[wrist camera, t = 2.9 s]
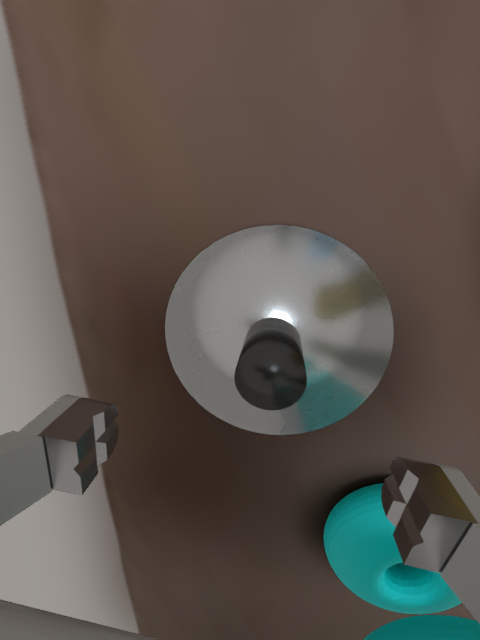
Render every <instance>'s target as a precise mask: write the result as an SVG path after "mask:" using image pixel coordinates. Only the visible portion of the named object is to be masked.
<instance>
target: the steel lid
mask: <svg viewBox="0 0 480 640" xmlns="http://www.w3.org/2000/svg"><path fill="white" fill-rule="evenodd" d="M393 337H394V330H393V317H392V312H391V307H390V304H389V301H388V298H387V295H386V292H385V290H384V288H383V286H382V285H381V283H380V281H379V279H378V277H377V276H376V275H375V273H374V272H373V271H372V269H371V268H370V267H369V265H368V264H367V263H366V262H365V261H364V260H363V259H362V258H361V257H360V256H359V255H358V254H357V253H355V252H354V251H353V250H351V249H350V248H349V247H347V246H346V245H344V244H343V243H341V242H339V241H338V240H336V239H334V238H332V237H330V236H328V235H326V234H323V233H320V232H317V231H314V230H312V229H307V228H302V227H297V226H289V225H267V226H258V227H253V228H248V229H244V230H241V231H238V232H235V233H233V234H230V235H228V236H226V237H224V238H222V239H220V240H218V241H216V242H214V243H213V244H212V245H210V246H209V247H207V248H206V249H205V250H203V251H202V252H201V253H200V254H199V255H198V256H197V257H196V258H194V259H193V260H192V261H191V262H190V264H189V265H188V266H187V268H186V269H185V270H184V271H183V273H182V274H181V276H180V278H179V279H178V281H177V283H176V284H175V286H174V289H173V291H172V294H171V296H170V299H169V303H168V307H167V311H166V320H165V338H166V345H167V351H168V354H169V357H170V360H171V363H172V366H173V368H174V370H175V372H176V375H177V376H178V378H179V379H180V381H181V383H182V384H183V386H184V387H185V388H186V390H187V391H188V392H189V394H190V395H191V396H192V397H193V398H194V399H195V400H196V401H197V402H198V403H199V404H200V405H201V406H202V407H204V408H205V409H206V410H207V411H209V412H210V413H212V414H213V415H215V416H216V417H218V418H219V419H221V420H223V421H225V422H227V423H229V424H231V425H233V426H236V427H239V428H241V429H244V430H248V431H252V432H256V433H262V434H269V435H292V434H300V433H306V432H310V431H314V430H317V429H321V428H323V427H326V426H328V425H331V424H333V423H335V422H337V421H339V420H340V419H342V418H344V417H346V416H347V415H348V414H350V413H351V412H353V411H354V410H355V409H357V408H358V407H359V406H360V405H361V404H362V403H363V402H364V401H365V400H366V399H367V398H368V397H369V396H370V394H371V393H372V392H373V391H374V390H375V388H376V387H377V385H378V383H379V382H380V380H381V379H382V377H383V375H384V372H385V370H386V368H387V366H388V363H389V359H390V356H391V352H392V346H393Z"/></svg>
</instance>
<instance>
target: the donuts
mask: <svg viewBox="0 0 480 640" xmlns="http://www.w3.org/2000/svg"><path fill="white" fill-rule="evenodd" d="M382 485H383V483H379V484H374V485H370V486H366V487H363V488H360V489H358V490H356V491H354V492H352V493H350V494H348V495H347V496H345V497H344V498H343V499H341V500H340V501H339V502H338V503H337V504H336V505H335V506H334V508H333V509H332V511H331V512H330V514H329V516H328V518H327V521H326V524H325V528H324V547H325V552H326V555H327V558H328V561H329V563H330V565H331V567H332V569H333V571H334V572H335V574H336V575H337V576H338V578H339V579H340V580H341V581H342V582H343V584H344V585H345V586H346V587H347V588H348V589H350V590H351V591H352V592H353V593H355V594H356V595H357V596H359V597H360V598H362V599H363V600H365V601H367V602H369V603H371V604H373V605H375V606H378V607H380V608H383V609H387V610H390V611H394V612H399V613H406V614H430V613H436V612H441V611H444V610H448V609H450V608H453V607H455V606H457V605H459V604H461V603H462V602H461V600H460V599H459V598H458V597H457V595H456V594H455V593H454V592H453V591H452V589H451V588H450V587H449V586H448V584H447V583H446V582H445V581H444V579H443V578H442V577H441V576H440V575H441V573H437V572H433V571H429V570H425V569H421V568H417V567H413V566H409V565H405V564H403V561H402V558H401V556H400V553H399V550H398V548H397V545H396V542H395V539H394V537H393V533H394V530H395V526H394V525H393V524H392V523H391V522H390V521H389V519H388V518H387V517H386V515H385V512H384V509H383V506H382V500H381V489H382ZM364 640H480V624H479V623H478V621H475V620H471V619H467V618H461V617H455V616H445V615H422V616H413V617H408V618H403V619H399V620H396V621H393V622H390V623H388V624H386V625H383V626H381V627H380V628H378V629H376V630H375V631H373V632H372V633H370V634H369V635H368V636H367V637H366V638H364Z"/></svg>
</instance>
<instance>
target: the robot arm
mask: <svg viewBox="0 0 480 640" xmlns="http://www.w3.org/2000/svg"><path fill="white" fill-rule="evenodd" d="M117 415H118V414H117V406H116V405H114V404H111V403H107V402H102V401H97V400H93V399H88V398H81V397H77V396H72V395H64V396H62V397H60V398H59V399H58V400H57V401H55V402H54V403H53V404H52V405H51V406H49V407H48V408H47V409H46V410H44V411H43V412H42V413H41V414H40V415H38V416H37V417H36V418H35V419H33V420H32V421H31V422H30V423H28V424H27V425H26V426H25V427H24V428H22V429H21V430H20V431H19V432H15V431H12V432H9V433H6V434H3V435H1V436H0V526H1V525H2V524H4V523H5V522H7V521H8V520H10V519H11V518H13V517H14V516H15V515H17V514H19V513H20V512H21V511H23V510H25V509H26V508H28V507H29V506H31V505H32V504H33V503H35V502H37V501H38V500H40V499H41V498H43V497H44V496H46V495H47V494H49V493H50V492H51V491H52V490H57V491H63V492H68V493H74V494H79V495H83V493H84V492H85V491H86V489H87V488H88V486H89V485H90V484H91V482H92V481H93V479H94V478H95V477H96V475H97V474H98V468H97V466H98V465H99V464H101V463H103V462H105V461H106V460H108V458H109V457H110V455H111V454H112V452H113V450H114V448H115V445H116V443H117V439H118V426H117V425H116V424H115V422H114V421H113V420H114V419H115V418H116V417H117ZM390 469H391V471H392V473H393V474H392V475H390V476H389V477H387V478H385V480H384V482H383V485H382V489H381V500H382V506H383V509H384V512H385V515H386V517H387V518H388V519H389V521H390V522H391V523H392V524H393V525H394V526H395V530H394V533H393V537H394V539H395V542H396V545H397V548H398V550H399V553H400V556H401V558H402V561H403V564H405V565H409V566H413V567H417V568H421V569H425V570H429V571H433V572H437V573H441V575H440V576H441V577H442V578H443V579H444V581H445V582H446V583H447V584H448V586H449V587H450V588H451V589H452V591H453V592H454V593H455V594H456V595H457V597H458V598H459V599H460V600H461V602H462V603H463V604H464V605H465V607H466V608H467V609H468V610H469V612H470V613H471V614H472V615H473V616H474V618H475V619H476V620H477V621H478V623H479V624H480V496H479V495H478V494H477V492H476V491H475V490H474V488H473V487H472V486H471V484H470V483H469V482H468V480H467V479H466V477H465V476H464V475H463V473H462V472H461V471H460V470H458V469H457V468H456V467H452V466H446V465H440V464H432V463H427V462H422V461H416V460H411V459H405V458H400V457H396V458H395V459H394V460H393V461H392V463H391V465H390ZM51 489H52V490H51ZM0 640H159V639H155V638H152V637H148V636H144V635H140V634H136V633H132V632H128V631H123V630H119V629H116V628H112V627H108V626H104V625H100V624H96V623H92V622H88V621H84V620H80V619H76V618H72V617H68V616H63V615H60V614H56V613H52V612H48V611H44V610H40V609H36V608H32V607H28V606H24V605H20V604H16V603H12V602H8V601H4V600H0Z"/></svg>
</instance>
